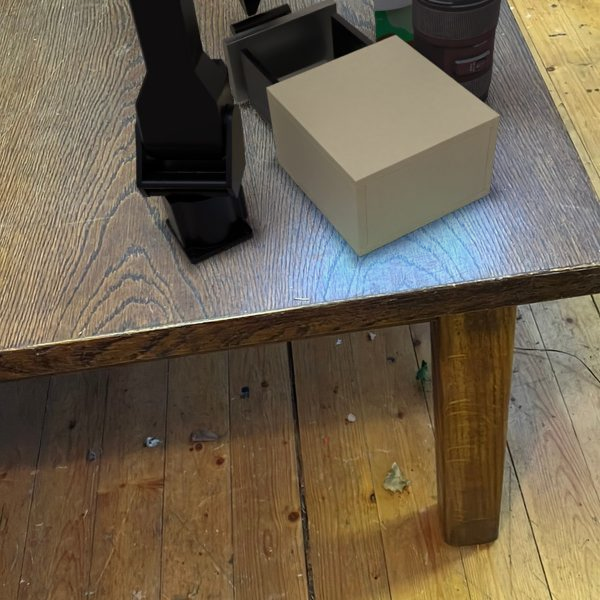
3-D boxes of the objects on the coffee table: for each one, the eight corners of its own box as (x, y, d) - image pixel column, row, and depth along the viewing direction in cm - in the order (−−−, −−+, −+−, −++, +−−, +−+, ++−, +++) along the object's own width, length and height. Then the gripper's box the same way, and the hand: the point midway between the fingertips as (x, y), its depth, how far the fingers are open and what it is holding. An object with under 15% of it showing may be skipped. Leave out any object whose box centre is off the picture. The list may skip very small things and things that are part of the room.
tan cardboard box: (277, 162, 74) (265, 87, 67) (395, 111, 77) (395, 34, 70) (359, 257, 64) (355, 181, 58) (489, 194, 68) (500, 115, 61)
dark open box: (213, 75, 83) (201, 18, 78) (312, 36, 86) (307, -21, 81) (296, 169, 71) (288, 109, 66) (407, 120, 75) (407, 59, 69)
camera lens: (494, 88, 78) (511, -51, 66) (481, 136, 73) (496, -5, 62) (420, 81, 80) (423, -55, 68) (402, 127, 75) (403, -11, 64)
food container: (430, 79, 80) (434, -8, 72) (375, 77, 81) (373, -9, 74) (440, 19, 88) (444, -66, 80) (389, 18, 89) (388, -65, 81)
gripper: (117, -140, 74) (155, 5, 86) (188, -80, 63) (221, 77, 75) (215, -170, 77) (239, -26, 89) (300, -117, 66) (315, 40, 78)
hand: (250, 14), depth 82 cm, fingers closed
